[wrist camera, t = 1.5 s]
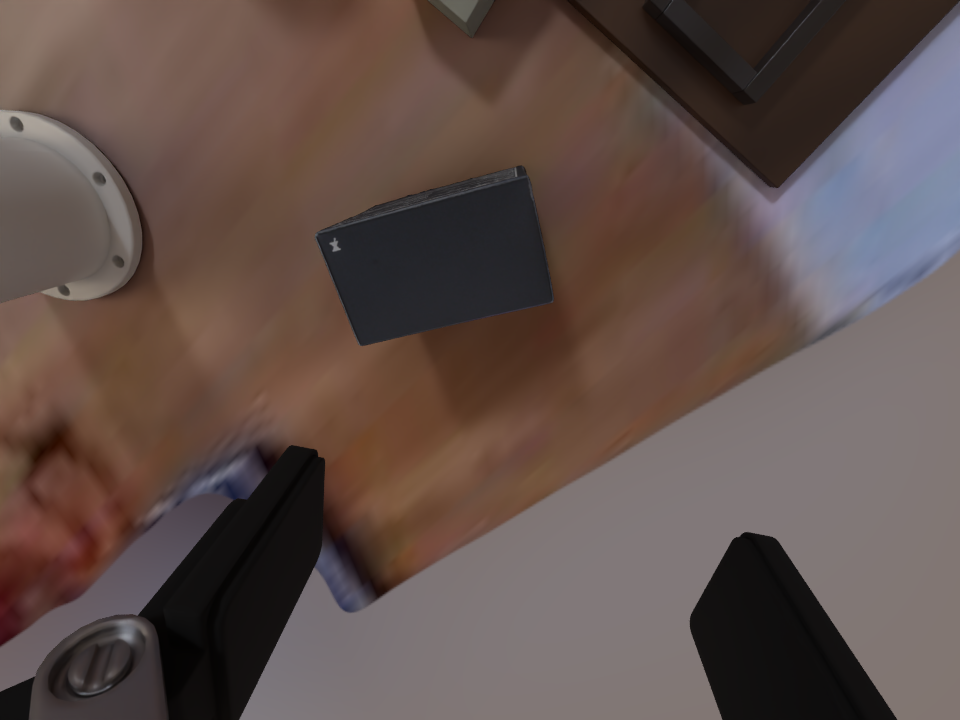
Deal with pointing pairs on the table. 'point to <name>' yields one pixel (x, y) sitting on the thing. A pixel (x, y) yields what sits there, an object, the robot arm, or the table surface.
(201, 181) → the table surface
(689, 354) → the table surface
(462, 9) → the gray rectangular block
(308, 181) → the table surface
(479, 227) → the small box
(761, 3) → the mounting board
